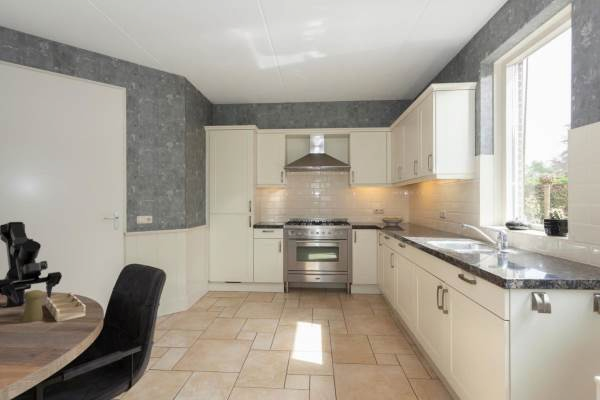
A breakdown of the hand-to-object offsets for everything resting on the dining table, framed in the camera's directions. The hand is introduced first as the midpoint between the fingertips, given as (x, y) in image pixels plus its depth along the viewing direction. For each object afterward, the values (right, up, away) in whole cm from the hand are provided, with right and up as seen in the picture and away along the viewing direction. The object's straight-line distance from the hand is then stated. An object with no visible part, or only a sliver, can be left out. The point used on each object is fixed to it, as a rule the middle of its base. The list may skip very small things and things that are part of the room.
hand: (34, 300), depth 112 cm
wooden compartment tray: (+4, -8, +10) cm, 13 cm away
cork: (-1, -8, 0) cm, 8 cm away
